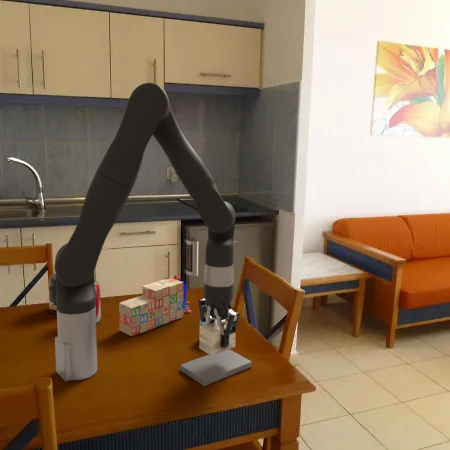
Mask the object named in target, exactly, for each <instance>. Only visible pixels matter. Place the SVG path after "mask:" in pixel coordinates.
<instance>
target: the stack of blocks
mask: <svg viewBox="0 0 450 450" xmlns="http://www.w3.org/2000/svg"><path fill="white" fill-rule="evenodd" d="M183 286H184V283H183V282H181V281H178V280H175V279H174V278H172V277H170V278H166V279H162V280H161V279H160V280H158V281H155V282H152V283H149V284H146V285H143V286H142V287H141V288H142V291H141V292H142V295H139V296H136V297H132V298H129V299H127V300H124V301H120V302H119V305H118V307H119V308H118V309H119V311H118V321H119V323H118V324H119V331H121V332H122V333H124V334H126V335H128V336H130V337H134V336H137V335H140V334H142V333H146V332H147V331H150V330H152V329H155V328H158V327H160V326H162V325H166V324H167V323H168V324H169V323H171V322H174V321H176V320H179V319H181V318H183V317H184V313H183V299H184V291H183Z"/></svg>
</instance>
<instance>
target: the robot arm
mask: <svg viewBox="0 0 450 450" xmlns="http://www.w3.org/2000/svg"><path fill="white" fill-rule="evenodd" d="M125 107H126V108H125V112H124V115H123V117H122V119H121V122H120V124H119V127H118V130H117V132H116V134H115V137H114V139H113V140H112V142H111V144H110V145H109V147H108V148H107V150H106V153H105V154H104V156H103V158H102V160H101V162H100V164H99V166H98V168H97V170H96V172H95V174H94V176H93V178H92V181H91V182H90V185H89V187H88V190H87V192H86V196H85V198H84V201H83V204H82V208H81V210H80V215H79V219H78V222H77V225H76V226H75V228H74V231H73V233H72V234H71V236H70V238H69V240H68V242H67V243H65V244H63V245H62V246H61V247H60V248H59V249H58V251H57V253H56V255H55V260H54V265H53V266H54V272H55V273H54V274H56V304H57V314H56V324H57V336H55V337H54V349H55V352H54V353H55V371H56V373H57V374H58V376H60V378H61V379H62V380H64V381H65V382H69V381H81V380H86V379H89V378H90V377H92V376H94V375H95V374H96V373H97V371H98V348H97V347H98V346H97V323H96V297H95V280H96V279H95V276H96V275H95V270H96V267H97V264H98V261H99V257H100V255H101V252H102V249H103V247H104V244H105V241H106V240H107V237H108V235H109V234H110V232H111V230H112V228H113V227H114V225H115V223H116V221H117V219H118V218H119V216H120V214H121V212H122V210H123V209H124V207H125V204H126V203H127V200H128V198H129V197H130V194H131V193H132V190H133V188H134V186H135V183H136V181H137V178H138V175H139V174H140V173H139V172H140V168H141V166H142V162H143V157H144V154H145V151H146V148H147V145H148V144H149V141H150V140H151V138H152V137H154V139H155V140H156V141H157V143H158V144H159V146H160V147H161V149H162V150H163V152H164V154H165V155H166V157H167V159H168V161H169V162H170V164H171V166H172V169H173V171H174V172H175V173H176V176H177V177H178V179H179V181H180V182H181V184H182V185H183V187H184V188H185V190H186V191H187V193H188V195H189V196H190V197H191V199H192V201H193V203H194V204H195V205H194V206H195V207H196V209H197V211H198V214H199V216H200V218H201V220H202V221H203V224H204V225H205V226H206V228H207V241H206V243H205V244H206V246H205V254H204V255H205V261H204V262H205V264H204V270H203V272H204V273H203V298H200V299H199V300H198V302H197V303H198V309H199V316H200V321H201V322H204V323H205V325H207V324H210V323H213V322H215V321H216V320H217V324H218V326H220V331H221V340H220V347H221V348H225V347H228V345H229V335H230V334H232V333H235V332H236V333H237V328H238V324H239V319H240V313H239V311H237V312H235V311H233V310H232V305H231V303H232V300H233V299H234V286H235V285H234V282H235V280H234V277H235V272H234V271H235V270H234V238H235V236H234V235H235V227H236V211H235V209H234V207H233V205H232V204H231V203H229V202H228V201H224V199H223V197H222V196H221V194H220V192H219V191H218V187H217V183H216V181H215V179H214V177H213V176H212V174H211V173H210V171H209V170H208V168H207V166H206V165H205V163H204V162H203V160H202V159H201V158H200V156H199V154H197V152H196V151H195V149H194V148H193V147H192V145H191V144H190V142H189V141H188V139H187V138H186V137H185V135H184V133H183V132H182V130H181V128H180V126H179V124H178V122H177V120H176V118H175V115H174V114H173V110H172V108H171V103H170V100H169V97H168V95H167V92H166V91H165V90H164V88H163V87H162V86H160V85H159V84H157V83H154V82H145V83H142V84H139V85H138V86H137V87H135V88H134V89H133V90H132V92H131V94H130V96H129V99H128V102H127V105H126V106H125ZM225 319H226V320H225ZM221 320H225V321H224V322H222V321H221ZM224 325H226V329H224Z"/></svg>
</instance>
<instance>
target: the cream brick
mask: <svg viewBox="0 0 450 450" xmlns="http://www.w3.org/2000/svg"><path fill="white" fill-rule="evenodd" d="M221 321H222V322H224V321H225V320H221ZM224 329H226V325H224ZM236 333H237V331H236V332H235V333H232V334H230V335H229V345H228V347H225V348H221V347H220V340H221V331H220V326H218V324H217V321H216V322H213V323H210V324H207V325H204V326H200V340H199V345H198V347H199V349H200V350H201V351H202V352H205V353H206V354H207V355H209V354H210V355H214V354H217V353H220V352H222V351H225V350H228V349H230V350H231V349H232V348H236V339H237V338H236Z"/></svg>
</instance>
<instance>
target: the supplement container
mask: <svg viewBox="0 0 450 450" xmlns="http://www.w3.org/2000/svg"><path fill="white" fill-rule="evenodd" d="M48 280H49V285H48V286H47V287H48V288H47V289H48V303H49V306H48V308H49V312H51V313H53V314H54V315H57V304H56V273H52V274H51V275H50V276H49V279H48Z"/></svg>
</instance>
